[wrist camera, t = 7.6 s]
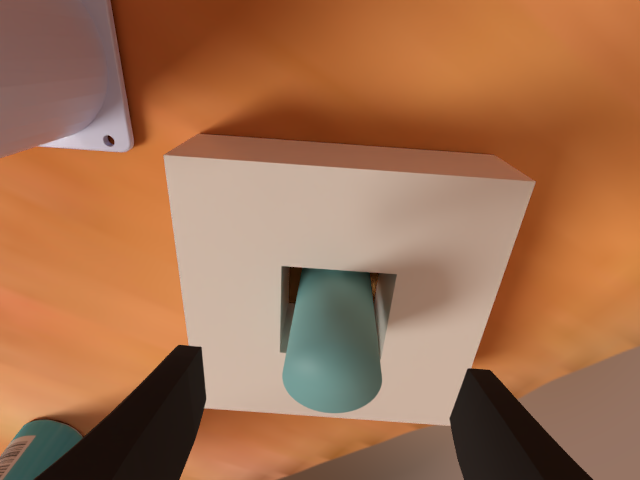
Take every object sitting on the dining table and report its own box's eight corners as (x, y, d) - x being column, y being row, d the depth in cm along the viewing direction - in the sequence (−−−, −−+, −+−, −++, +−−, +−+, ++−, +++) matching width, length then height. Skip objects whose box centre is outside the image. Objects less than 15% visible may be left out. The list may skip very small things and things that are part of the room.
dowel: (300, 287, 21) (279, 407, 14) (306, 231, 20) (285, 336, 12) (362, 294, 21) (372, 418, 14) (373, 240, 20) (391, 349, 12)
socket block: (217, 354, 24) (197, 407, 20) (198, 133, 17) (163, 154, 14) (433, 369, 24) (451, 425, 20) (494, 154, 17) (535, 181, 14)
